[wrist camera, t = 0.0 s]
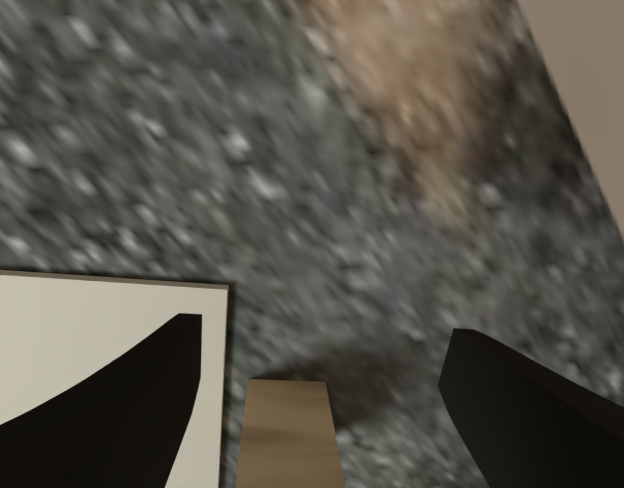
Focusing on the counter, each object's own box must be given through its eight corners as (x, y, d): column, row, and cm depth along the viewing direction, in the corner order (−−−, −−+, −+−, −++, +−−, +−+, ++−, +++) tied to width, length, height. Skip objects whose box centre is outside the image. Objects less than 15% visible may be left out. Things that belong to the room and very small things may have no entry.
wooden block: (316, 440, 24) (337, 610, 16) (243, 439, 23) (224, 616, 15) (325, 381, 22) (353, 534, 14) (248, 379, 22) (229, 537, 13)
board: (217, 508, 25) (216, 517, 25) (-58, 511, 23) (-67, 521, 22) (228, 285, 20) (227, 289, 19) (-133, 260, 17) (-146, 265, 17)
